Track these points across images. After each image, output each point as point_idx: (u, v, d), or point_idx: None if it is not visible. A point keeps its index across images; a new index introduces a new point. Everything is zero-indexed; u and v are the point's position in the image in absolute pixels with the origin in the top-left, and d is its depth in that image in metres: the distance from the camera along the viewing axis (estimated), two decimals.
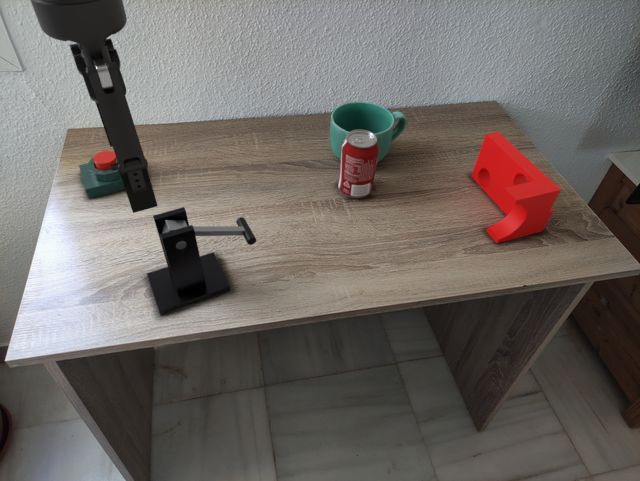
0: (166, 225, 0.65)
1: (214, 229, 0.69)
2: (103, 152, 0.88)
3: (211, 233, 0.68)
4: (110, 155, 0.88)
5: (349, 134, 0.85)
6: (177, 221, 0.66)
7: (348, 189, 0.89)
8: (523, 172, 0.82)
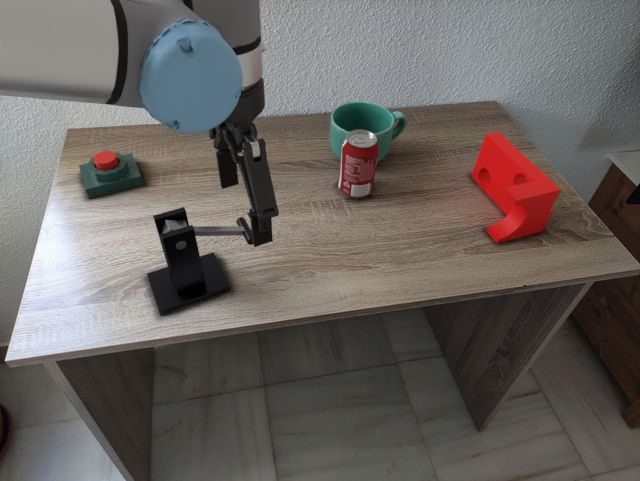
0: (166, 225, 0.65)
1: (214, 229, 0.69)
2: (103, 152, 0.88)
3: (211, 233, 0.68)
4: (110, 155, 0.88)
5: (349, 134, 0.85)
6: (177, 221, 0.66)
7: (348, 189, 0.89)
8: (523, 172, 0.82)
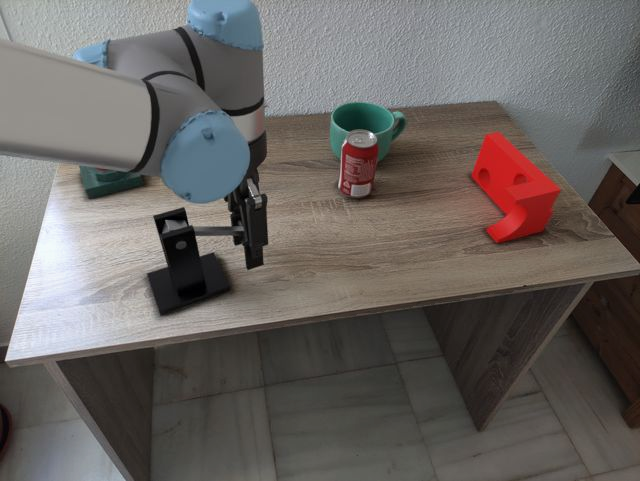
0: (166, 225, 0.65)
1: (214, 229, 0.69)
2: None
3: (211, 233, 0.68)
4: None
5: (349, 134, 0.85)
6: (177, 221, 0.66)
7: (348, 189, 0.89)
8: (523, 172, 0.82)
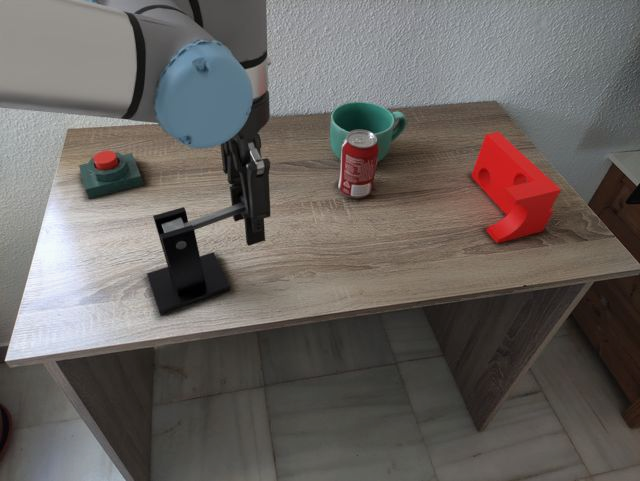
0: None
1: (213, 216, 0.67)
2: (103, 152, 0.88)
3: (212, 221, 0.67)
4: (110, 155, 0.88)
5: (349, 134, 0.85)
6: (173, 221, 0.65)
7: (348, 189, 0.89)
8: (523, 172, 0.82)
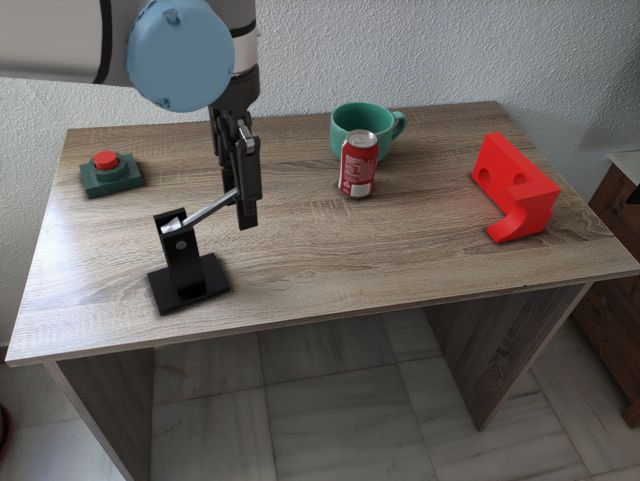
0: None
1: (207, 208, 0.65)
2: (103, 152, 0.88)
3: (208, 213, 0.66)
4: (110, 155, 0.88)
5: (349, 134, 0.85)
6: (170, 222, 0.65)
7: (348, 189, 0.89)
8: (523, 172, 0.82)
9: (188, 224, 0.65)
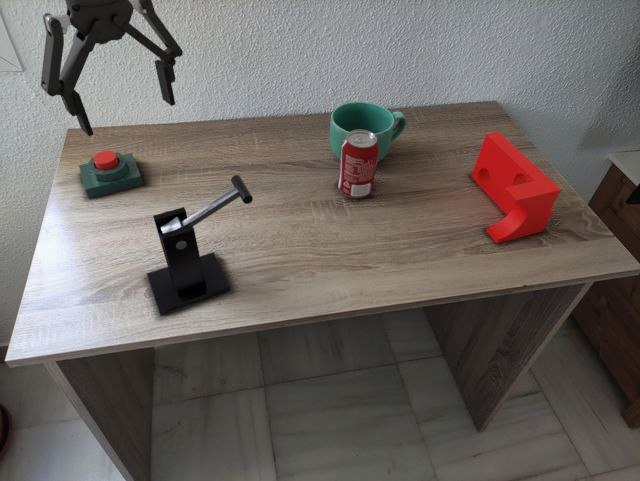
0: None
1: (207, 208, 0.65)
2: (103, 152, 0.88)
3: (208, 213, 0.66)
4: (110, 155, 0.88)
5: (349, 134, 0.85)
6: (170, 222, 0.65)
7: (348, 189, 0.89)
8: (523, 172, 0.82)
9: (188, 224, 0.65)
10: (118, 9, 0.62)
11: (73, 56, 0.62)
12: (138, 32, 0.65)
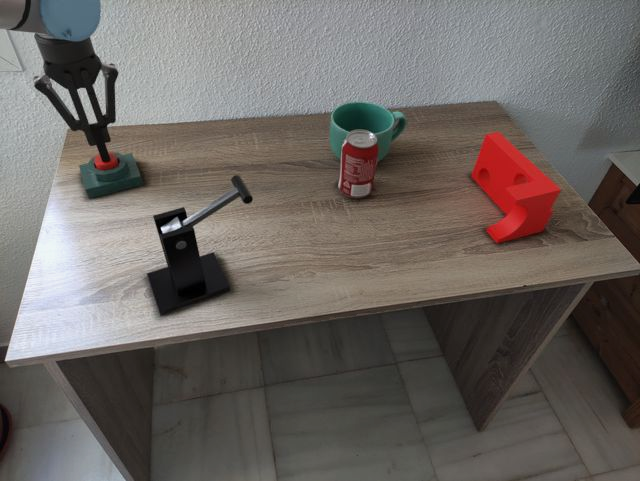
0: None
1: (207, 208, 0.65)
2: None
3: (208, 213, 0.66)
4: (111, 157, 0.88)
5: (349, 134, 0.85)
6: (170, 222, 0.65)
7: (348, 189, 0.89)
8: (523, 172, 0.82)
9: (188, 224, 0.65)
10: (86, 64, 0.74)
11: (73, 102, 0.78)
12: (93, 91, 0.77)
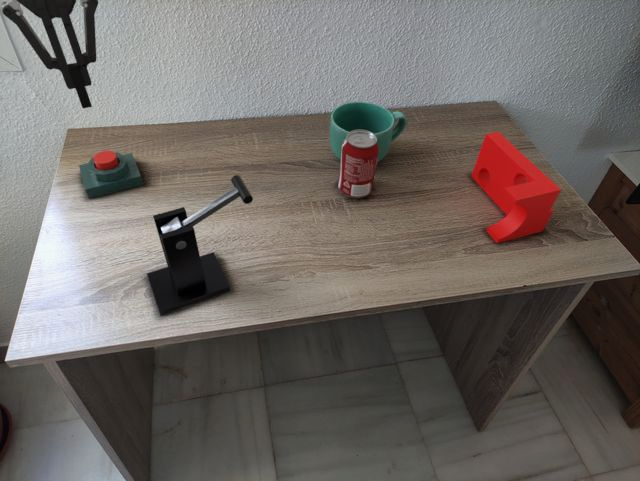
0: None
1: (207, 208, 0.65)
2: (103, 152, 0.88)
3: (208, 213, 0.66)
4: (110, 155, 0.88)
5: (349, 134, 0.85)
6: (170, 222, 0.65)
7: (348, 189, 0.89)
8: (523, 172, 0.82)
9: (188, 224, 0.65)
10: None
11: (48, 35, 0.70)
12: (70, 22, 0.69)
